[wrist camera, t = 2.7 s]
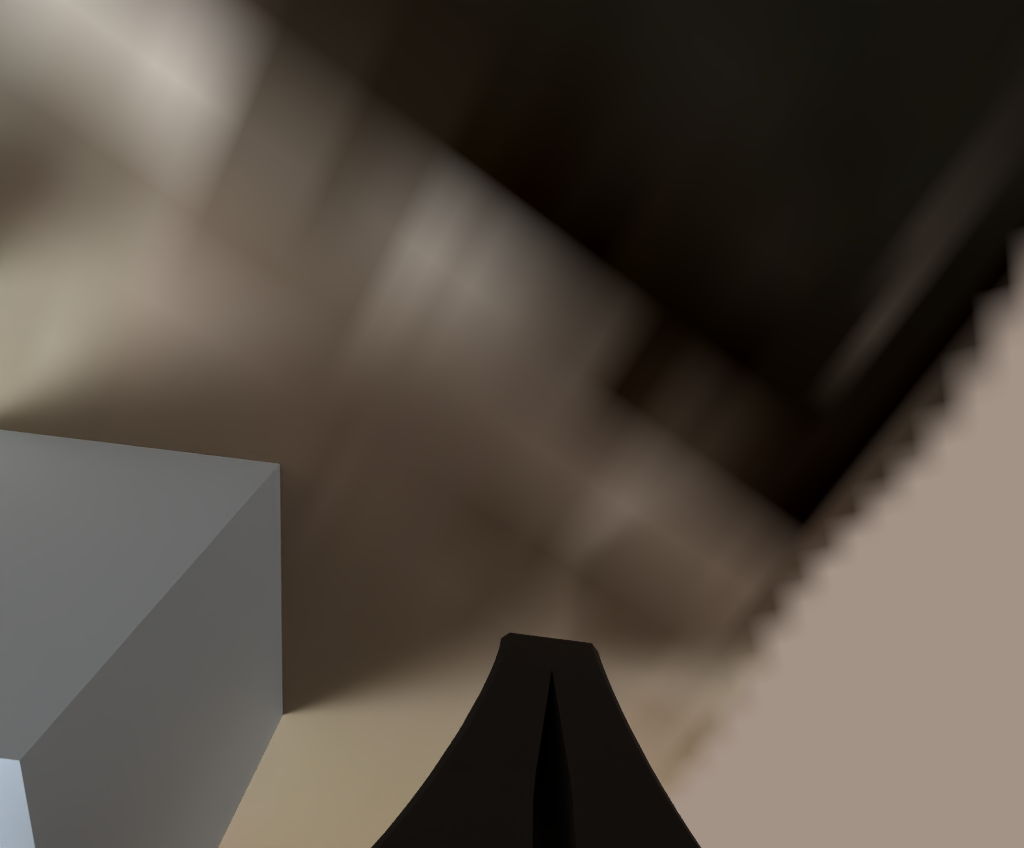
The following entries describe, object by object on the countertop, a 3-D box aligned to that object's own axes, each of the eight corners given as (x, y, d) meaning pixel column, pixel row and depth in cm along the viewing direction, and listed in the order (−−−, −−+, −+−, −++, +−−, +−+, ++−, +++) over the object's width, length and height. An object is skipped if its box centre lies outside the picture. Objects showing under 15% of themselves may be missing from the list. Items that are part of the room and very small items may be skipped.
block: (283, 713, 13) (84, 1121, 8) (13, 677, 14) (-374, 1055, 8) (280, 462, 12) (18, 761, 6) (-31, 424, 12) (-573, 682, 6)
